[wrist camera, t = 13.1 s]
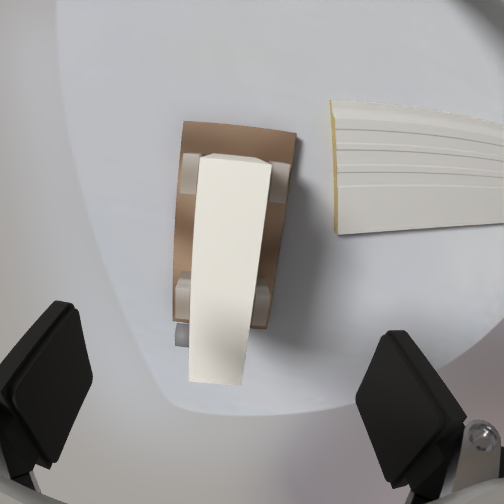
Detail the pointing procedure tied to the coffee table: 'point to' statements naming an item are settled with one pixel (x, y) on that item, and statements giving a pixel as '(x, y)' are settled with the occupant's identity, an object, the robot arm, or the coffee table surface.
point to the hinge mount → (280, 157)
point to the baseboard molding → (414, 168)
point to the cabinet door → (224, 265)
